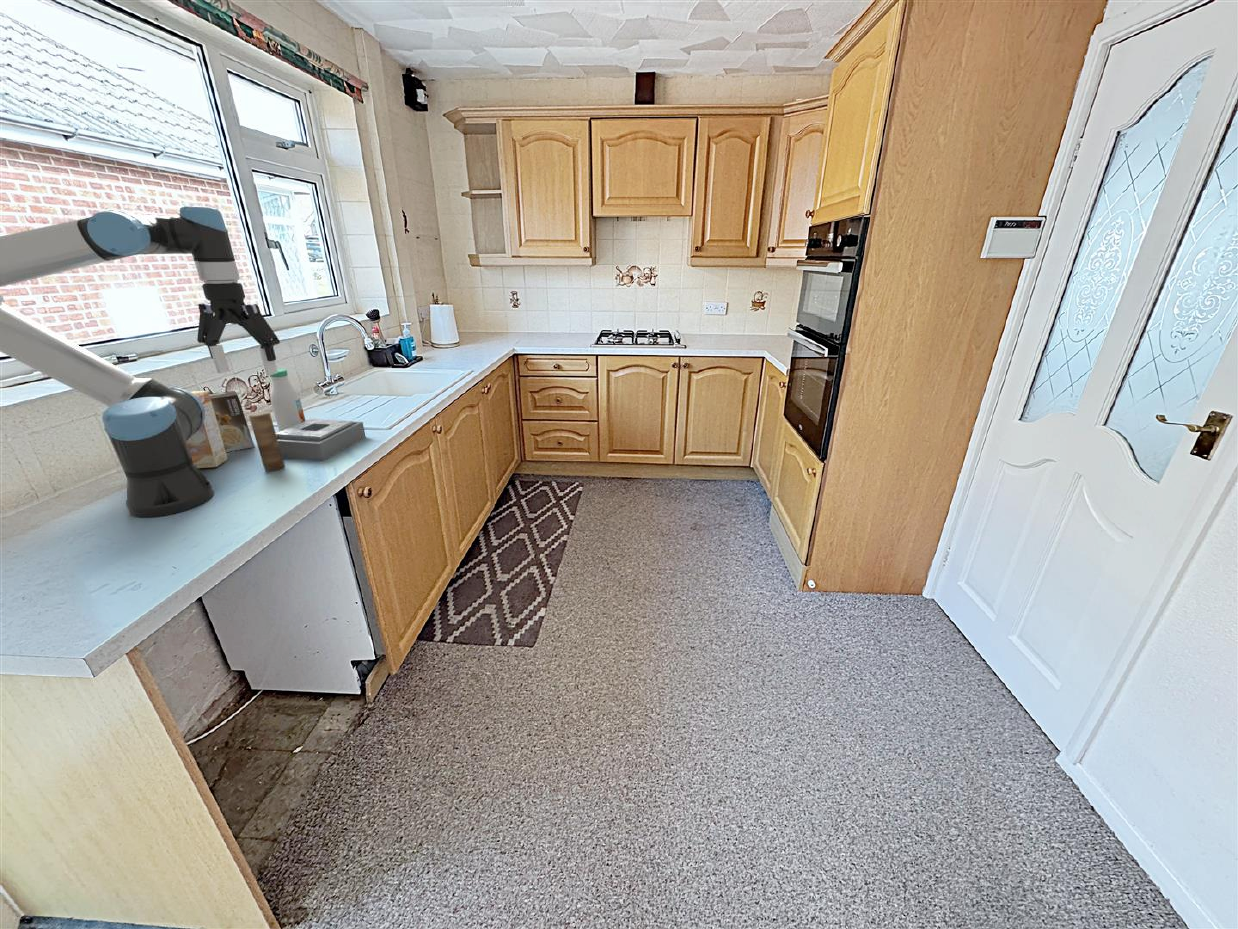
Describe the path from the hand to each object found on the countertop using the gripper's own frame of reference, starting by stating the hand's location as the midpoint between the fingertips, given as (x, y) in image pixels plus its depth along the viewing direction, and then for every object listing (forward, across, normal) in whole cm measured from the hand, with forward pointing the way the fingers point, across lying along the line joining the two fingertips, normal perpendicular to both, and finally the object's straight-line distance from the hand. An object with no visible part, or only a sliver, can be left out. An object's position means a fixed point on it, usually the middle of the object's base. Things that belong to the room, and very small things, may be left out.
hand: (248, 373), depth 123 cm
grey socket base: (+26, 0, -16) cm, 30 cm away
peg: (+26, 0, 0) cm, 26 cm away
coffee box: (+26, +23, -11) cm, 36 cm away
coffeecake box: (+26, +23, +3) cm, 34 cm away
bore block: (+26, 0, -16) cm, 30 cm away
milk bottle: (+26, +16, -26) cm, 40 cm away
